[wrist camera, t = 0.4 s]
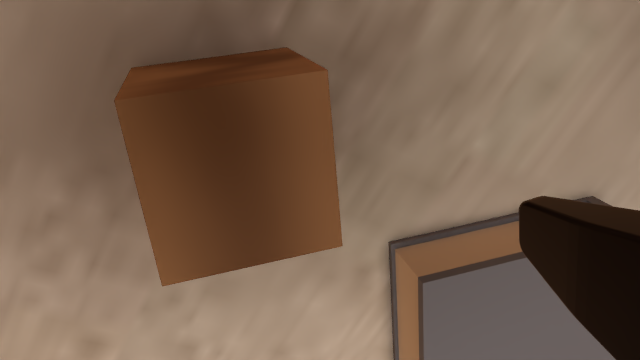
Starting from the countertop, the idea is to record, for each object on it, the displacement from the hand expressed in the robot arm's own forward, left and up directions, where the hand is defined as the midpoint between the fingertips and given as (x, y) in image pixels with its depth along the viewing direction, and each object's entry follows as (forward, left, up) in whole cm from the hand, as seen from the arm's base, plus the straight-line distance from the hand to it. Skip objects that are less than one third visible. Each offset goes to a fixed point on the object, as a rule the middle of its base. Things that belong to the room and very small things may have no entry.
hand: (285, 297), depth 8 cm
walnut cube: (0, +1, -13) cm, 13 cm away
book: (-13, +16, -13) cm, 24 cm away
